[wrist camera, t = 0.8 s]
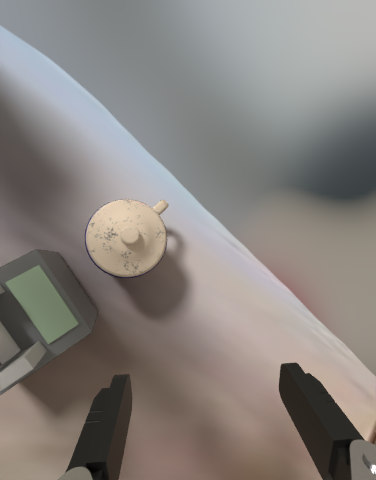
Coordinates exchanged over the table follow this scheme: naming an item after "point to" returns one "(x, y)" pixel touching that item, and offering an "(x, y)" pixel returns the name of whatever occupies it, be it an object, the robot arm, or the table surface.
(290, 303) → the table surface
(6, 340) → the lever
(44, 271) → the breaker box
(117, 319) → the table surface
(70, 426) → the table surface
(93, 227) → the teacup with lid
